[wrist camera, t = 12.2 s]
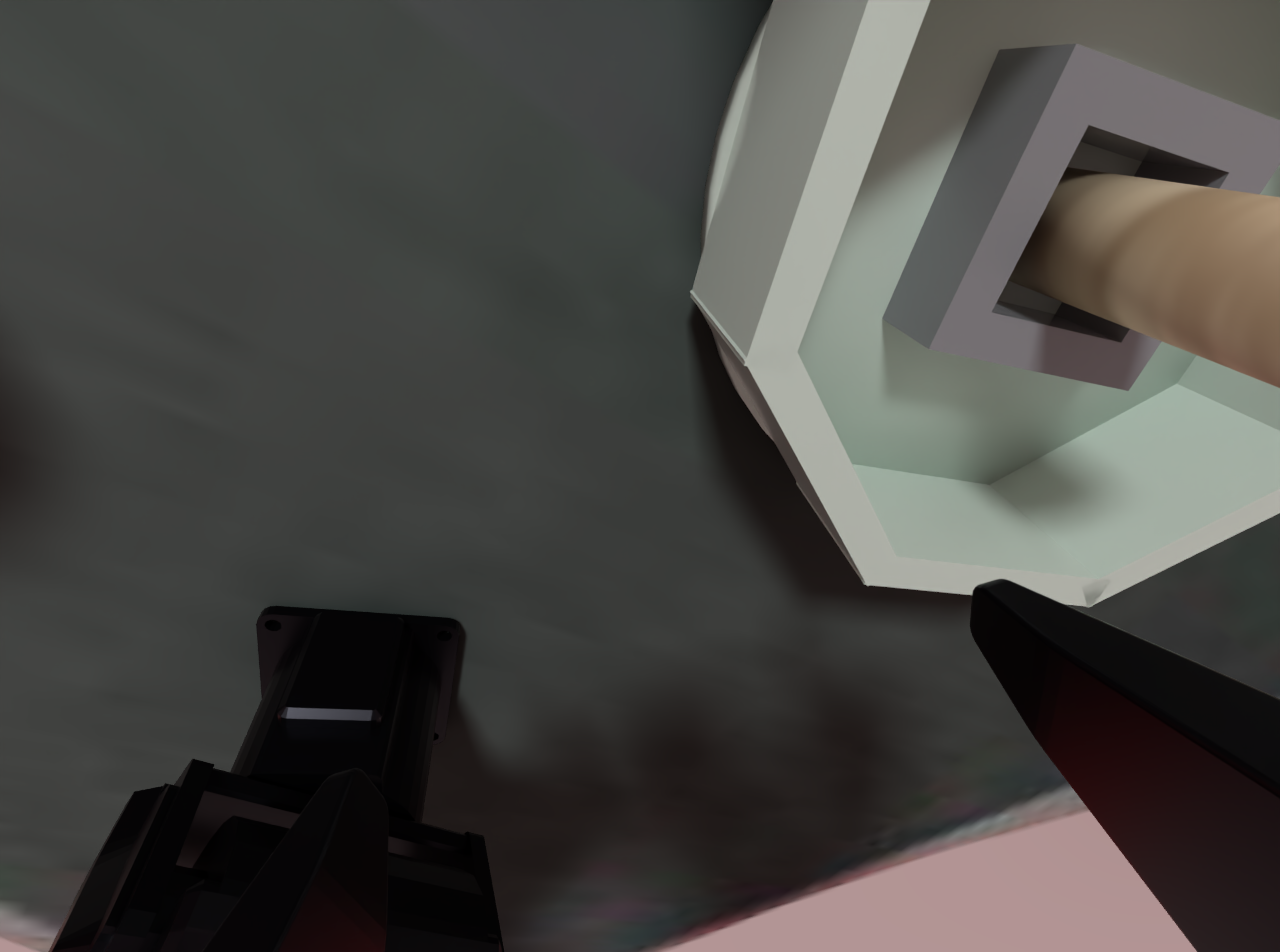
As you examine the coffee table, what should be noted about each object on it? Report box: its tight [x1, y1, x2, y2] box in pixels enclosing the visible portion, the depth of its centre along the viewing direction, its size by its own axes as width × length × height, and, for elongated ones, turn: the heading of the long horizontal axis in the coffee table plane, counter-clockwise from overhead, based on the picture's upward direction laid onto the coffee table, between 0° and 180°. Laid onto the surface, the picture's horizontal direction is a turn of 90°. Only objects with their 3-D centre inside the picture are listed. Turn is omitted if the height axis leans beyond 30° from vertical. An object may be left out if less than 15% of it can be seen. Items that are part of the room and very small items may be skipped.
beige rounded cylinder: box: [1008, 167, 1280, 388], centre depth 14 cm, size 3×3×9 cm
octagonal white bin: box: [690, 0, 1280, 608], centre depth 16 cm, size 18×18×6 cm
